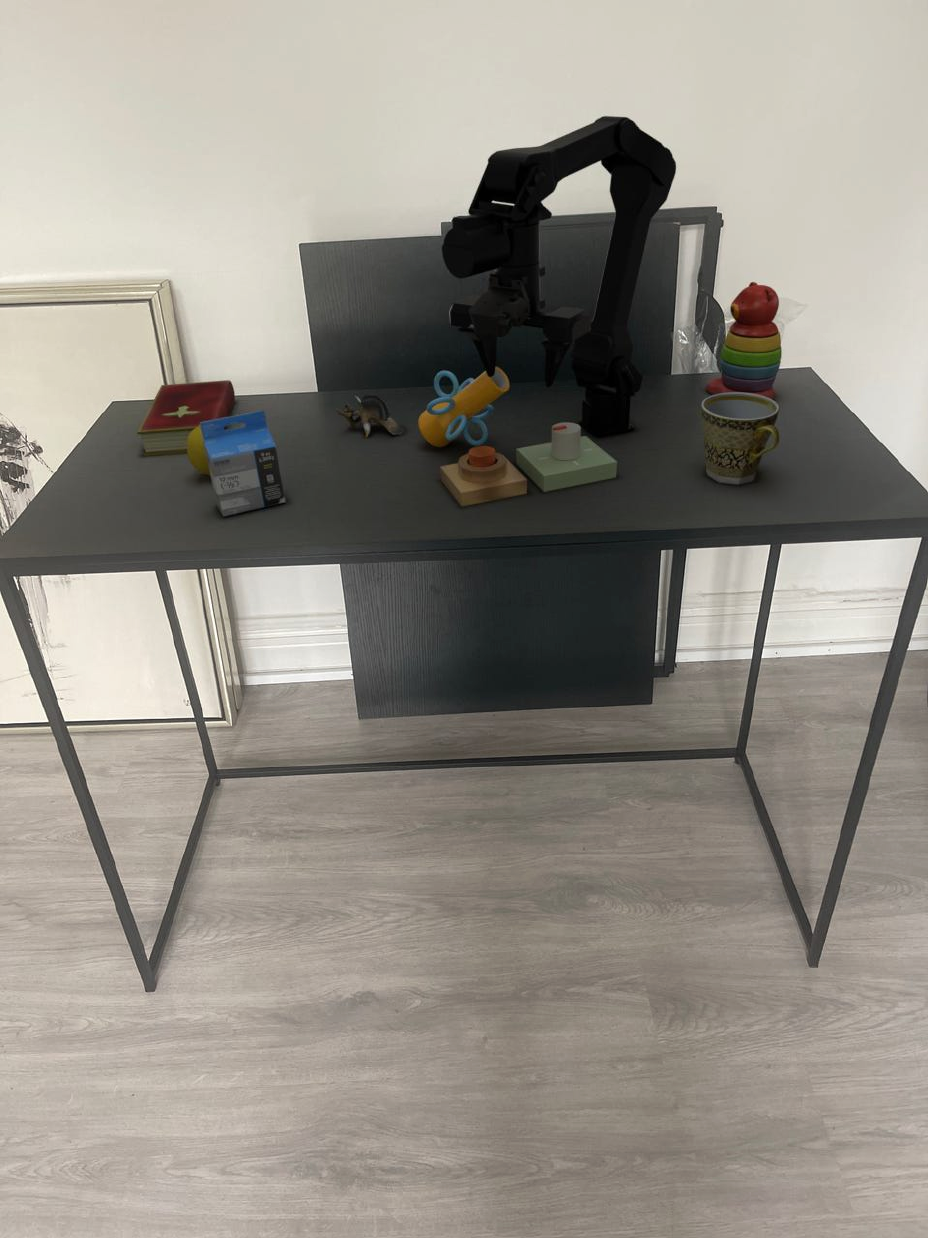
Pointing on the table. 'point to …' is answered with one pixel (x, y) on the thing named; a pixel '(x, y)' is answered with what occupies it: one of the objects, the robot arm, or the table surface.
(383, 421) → the animal figurine
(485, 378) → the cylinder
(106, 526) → the table surface
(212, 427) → the label tape box
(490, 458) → the top button
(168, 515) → the table surface
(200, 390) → the hardcover book
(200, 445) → the lemon
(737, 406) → the ceramic cup
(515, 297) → the robot arm
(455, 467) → the button block
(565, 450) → the dial
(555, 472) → the dial panel
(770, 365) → the stacking bear
